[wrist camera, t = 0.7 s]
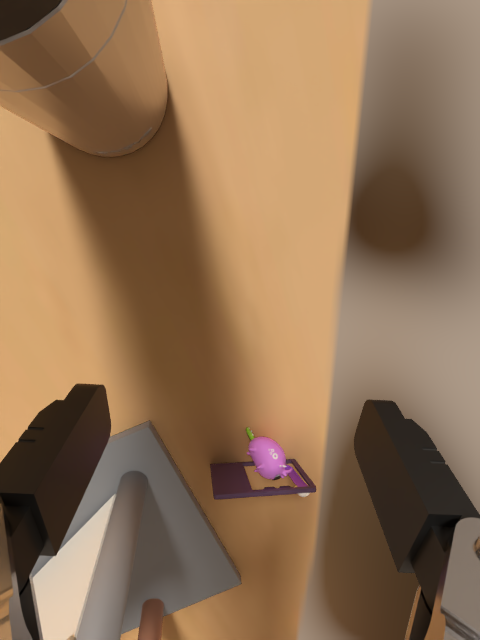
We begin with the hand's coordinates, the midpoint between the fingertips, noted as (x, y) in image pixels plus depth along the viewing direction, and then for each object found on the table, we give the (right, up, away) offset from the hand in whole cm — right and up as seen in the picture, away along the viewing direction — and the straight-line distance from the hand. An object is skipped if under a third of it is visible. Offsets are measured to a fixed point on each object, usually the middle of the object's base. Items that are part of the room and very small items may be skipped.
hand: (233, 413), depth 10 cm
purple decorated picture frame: (+2, -10, +24) cm, 26 cm away
